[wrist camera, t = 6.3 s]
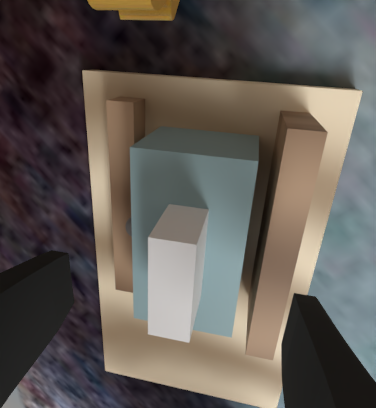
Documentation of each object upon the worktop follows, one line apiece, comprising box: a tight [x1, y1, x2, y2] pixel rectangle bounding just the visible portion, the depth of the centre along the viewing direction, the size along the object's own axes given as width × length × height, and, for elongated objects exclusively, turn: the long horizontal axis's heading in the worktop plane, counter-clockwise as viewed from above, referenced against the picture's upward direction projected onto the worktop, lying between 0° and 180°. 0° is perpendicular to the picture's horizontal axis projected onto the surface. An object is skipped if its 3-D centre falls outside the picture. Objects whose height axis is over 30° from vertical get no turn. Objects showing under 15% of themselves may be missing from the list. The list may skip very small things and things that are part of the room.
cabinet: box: [125, 126, 259, 343], centre depth 13 cm, size 8×5×6 cm, turn 177°
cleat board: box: [82, 70, 363, 408], centre depth 16 cm, size 20×12×5 cm, turn 177°
